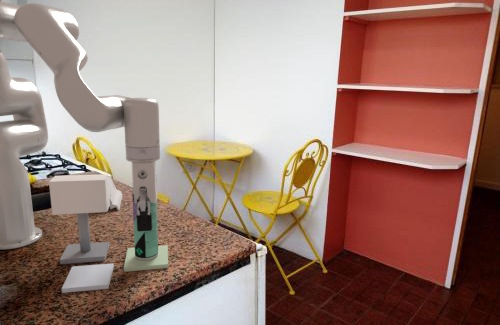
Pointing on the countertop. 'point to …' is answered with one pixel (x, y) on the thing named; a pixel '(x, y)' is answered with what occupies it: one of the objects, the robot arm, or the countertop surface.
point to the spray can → (146, 236)
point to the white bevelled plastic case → (114, 195)
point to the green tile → (156, 263)
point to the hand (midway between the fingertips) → (145, 222)
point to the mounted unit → (81, 212)
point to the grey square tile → (88, 278)
